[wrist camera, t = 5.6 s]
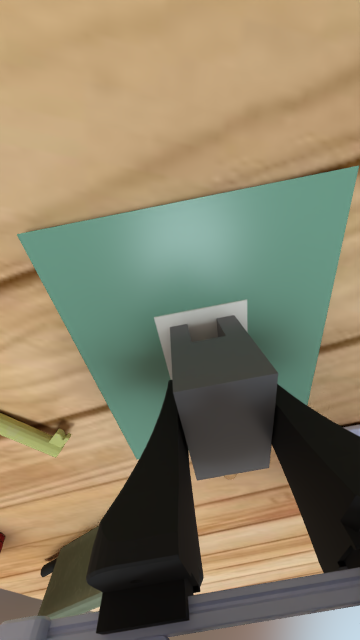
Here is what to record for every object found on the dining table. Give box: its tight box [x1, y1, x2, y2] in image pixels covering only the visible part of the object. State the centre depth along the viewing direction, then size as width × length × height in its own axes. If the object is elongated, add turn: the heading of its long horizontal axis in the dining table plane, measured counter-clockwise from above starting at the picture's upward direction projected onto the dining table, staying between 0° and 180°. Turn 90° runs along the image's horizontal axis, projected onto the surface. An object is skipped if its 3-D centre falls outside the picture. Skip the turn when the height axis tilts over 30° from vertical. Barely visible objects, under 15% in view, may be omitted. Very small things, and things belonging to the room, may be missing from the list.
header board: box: [17, 166, 359, 459], centre depth 13 cm, size 20×16×2 cm
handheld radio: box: [38, 526, 103, 619], centre depth 25 cm, size 7×3×25 cm
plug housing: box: [170, 315, 278, 480], centre depth 11 cm, size 9×4×5 cm, turn 9°
